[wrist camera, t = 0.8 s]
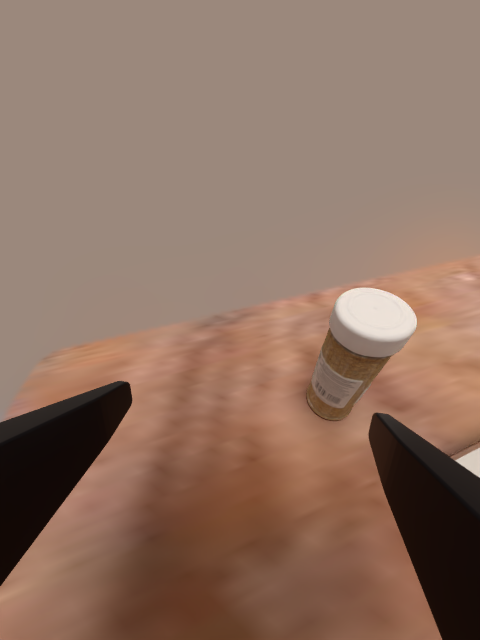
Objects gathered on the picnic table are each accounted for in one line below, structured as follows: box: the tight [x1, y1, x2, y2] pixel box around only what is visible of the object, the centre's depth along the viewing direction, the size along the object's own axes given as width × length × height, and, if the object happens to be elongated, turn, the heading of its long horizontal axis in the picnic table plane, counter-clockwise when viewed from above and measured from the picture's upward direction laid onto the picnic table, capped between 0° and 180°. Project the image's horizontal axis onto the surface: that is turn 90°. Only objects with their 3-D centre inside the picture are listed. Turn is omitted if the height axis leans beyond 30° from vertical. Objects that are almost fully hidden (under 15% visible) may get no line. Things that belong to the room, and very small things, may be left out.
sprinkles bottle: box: [307, 288, 417, 420], centre depth 18 cm, size 5×5×14 cm
